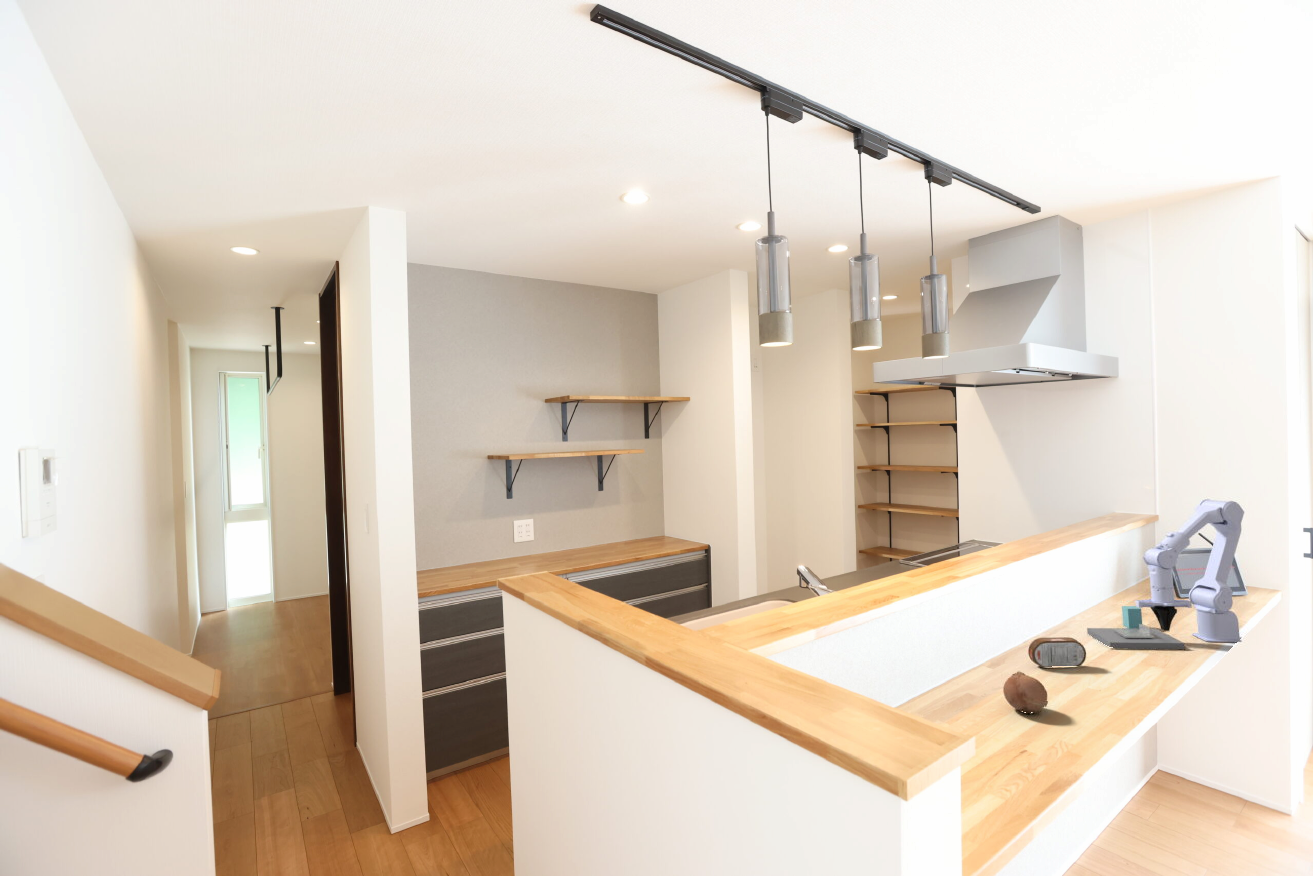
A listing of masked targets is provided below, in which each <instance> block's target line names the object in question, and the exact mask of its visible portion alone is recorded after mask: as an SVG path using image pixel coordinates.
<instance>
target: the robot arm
mask: <svg viewBox="0 0 1313 876" xmlns="http://www.w3.org/2000/svg"><path fill="white" fill-rule="evenodd" d="M1244 516H1245V511H1244V509H1243V508H1242V506H1241V505H1240V503H1238V502H1236V501H1232V500H1228V501H1226V500H1216V499H1215V500H1214V499H1202V500H1201V501H1199V503H1198V504H1197V505H1196V506H1195V507H1194V512H1193V514H1191V516H1190V517H1189V518H1188V519H1187V520H1186V521H1185V523H1183V525H1182V526H1181V527H1180V528H1179V530H1178V531H1170V532H1167V534H1165V537H1164V538H1163V539H1162V541H1160V542H1159V543H1157V545H1156V546H1155V547H1154V548H1153V547H1152V548H1149V549H1148V550H1147V551H1145V554H1144V556H1143V561H1144V563H1145V564H1146V566H1147V570H1148V571H1149V572H1148V573H1149V582H1150V583H1149V584H1150V585H1149V586H1150V595H1151V596H1150V597H1151V599H1140V600H1139V599H1137V600H1135V601H1134V602H1135V606H1136V607H1138V608H1140V609H1142V608H1150V610H1151V611H1152V612H1153V614H1154V615H1155V617H1156V619H1157V622H1158V624H1159V626H1160V629H1161V630H1162V631H1164V632H1170V629H1171V626H1172V621H1173V620H1174V618H1175V616H1176V614H1177V613H1178V609H1177V608H1189V609H1190V608H1192V607H1194V609H1196V623H1197V632H1191V635H1192V636H1194V637H1196V638H1199V639H1200V640H1203V641H1204V642H1208V643H1210V642H1215V643H1217V642H1218V643H1220V642H1221V643H1242V639H1241V637H1240V626H1239V619H1238V616H1237V615H1236V613H1235V612H1233V611H1232V607H1233V604H1234V603H1233V602H1234V601H1233V593H1234V591H1233V590H1232V588H1231V587H1230V586H1229V585H1228V584H1227V582H1228V579H1229V575H1230V571H1231V568H1232V564H1233V561H1234V558H1235V553H1236V551H1237V547H1238V544H1239V541H1240V537H1241V534H1242V521H1243V518H1244ZM1208 524H1210V525H1211V526H1212V527H1214V529H1215V530H1216V533H1215V537H1214V541H1213V545H1212V548H1211V551H1210V554H1209V558H1208V561H1207V565H1206V568H1205V573H1204V575H1203V577H1202V578H1200V579H1198V580H1197V581H1195V583H1194V585H1193V587H1192V588H1191V589H1190V590H1189V593H1188V599H1189V600H1188V599H1175V591H1174V590H1175V588H1174V579H1173V577H1174V575H1173V568H1174V567H1176V565H1177V564H1178V563H1177V561H1178V558H1179V556H1180V554H1181V553H1182V552H1183V551H1185V550H1186V549H1187V548H1188V547H1189V546H1190V545H1191V541H1190V539H1191V538H1192V537H1193V536H1194V535H1196V534H1197V533H1198V532H1199V531H1200V530H1201V529H1203V528H1204V527H1205V526H1207V525H1208Z"/></svg>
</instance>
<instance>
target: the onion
mask: <svg viewBox="0 0 1313 876" xmlns="http://www.w3.org/2000/svg"><path fill="white" fill-rule="evenodd" d="M1003 695H1004V697H1005V700H1006V701H1007V702H1008V704H1009V705H1010V706H1011V707H1012V708H1013V709H1015V710H1017V711H1019V710H1020V711H1023V712H1026V714H1027V713H1031V712H1037V711H1040V712H1041V710H1042V709H1044V708H1047V707H1048V706H1047V705H1048V703H1049V701H1048V691H1047V690H1046V688H1045V685H1044V684H1042V683H1041V682H1040V681H1039V680H1038V679H1037V678H1034V677H1033V676H1029V675H1027V674H1025V673H1024V672H1021V671H1017V672H1015V673H1012V675H1011V676H1009V677H1007V679H1006V681H1005V682H1004V684H1003ZM1020 711H1019V712H1020ZM1023 712H1022V713H1023ZM1037 713H1038V712H1037Z"/></svg>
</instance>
